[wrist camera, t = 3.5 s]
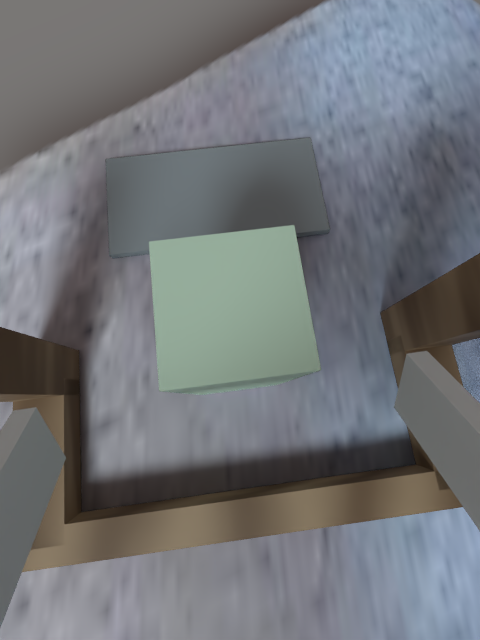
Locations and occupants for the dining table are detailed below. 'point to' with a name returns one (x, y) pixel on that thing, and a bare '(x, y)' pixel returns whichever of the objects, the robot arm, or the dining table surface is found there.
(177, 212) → the mat
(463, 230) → the dining table surface
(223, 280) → the tall green square pillar
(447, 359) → the frame
